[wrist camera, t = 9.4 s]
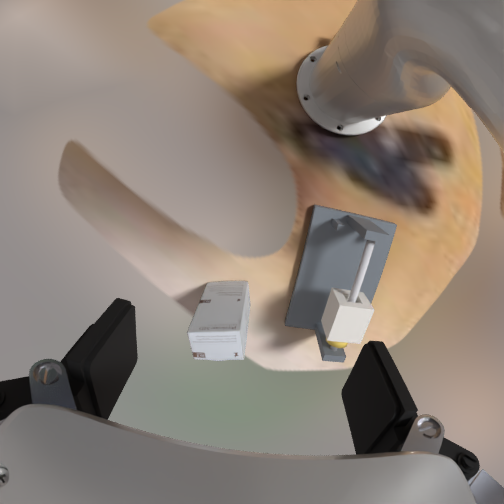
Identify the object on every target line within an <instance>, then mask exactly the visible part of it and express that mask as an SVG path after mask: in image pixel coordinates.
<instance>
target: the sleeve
mask: <svg viewBox="0 0 504 504" xmlns="http://www.w3.org/2000/svg"><path fill="white" fill-rule="evenodd" d="M350 292H351V290H345V289H338V288H332V289H331V292H330V295H329V298H328V301H327V304H326V307H325V310H324V313H323V316H322V319H321V322H322V325H323V329H324V332H325V335H326V339H327V341H336V342H346V343H357V344H360V343H361V341H362V339H363V336H364V334H365V332H366V329H367V327H368V324H369V322H370V320H371V317H372V315H373V312H374V308H373V307H372V305H371V304H370V302H369V300H368V299H367V297H366V296H365V294H364V293H363V292H359V294H358V297H357V299H356V302H355V303H354V302H347V301H348V298H349V295H350Z"/></svg>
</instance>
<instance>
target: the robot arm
mask: <svg viewBox="0 0 504 504" xmlns="http://www.w3.org/2000/svg"><path fill="white" fill-rule="evenodd" d="M310 60H314V62H311V61H310ZM296 86H297V94H298V98H299V100H300V103H301V105H302V107H303V109H304V110H305V111H306V113H307V114H308V116H309V117H310V118H311V119H312V120H313V121H314V122H316V123H317V124H318V125H320V126H321V127H322V128H324V129H326V130H328V131H330V132H333V133H336V134H340V135H348V136H349V135H359V134H364V133H367V132H369V131H372V130H373V129H375V128H376V127H378V126H379V125H380V124H381V123H382V122H383V121H384V119H385V117H386V116H387V115H391V114H395V113H400V112H404V111H409V110H413V109H418V108H423V107H426V106H429V105H431V104H434V103H435V102H437V101H438V100H440V99H441V98H442V97H443V96H444V95H445V94H446V93H447V91H448V90H449V88H450V87H452V88H453V89H454V90H455V91H456V92H457V93H458V94H459V95H460V96H461V98H462V99H463V100H464V101H465V102H466V104H467V105H468V106H469V107H470V108H472V109H473V111H474V112H475V113H476V114H477V116H478V117H479V118H480V120H481V121H482V122H483V124H484V125H485V126H486V128H487V129H488V130H489V132H490V133H491V135H492V136H493V137H494V139H495V140H496V142H497V143H498V145H499V146H500V148H501V149H502V151H503V152H504V0H357V2H356V4H355V6H354V7H353V9H352V11H351V12H350V14H349V15H348V17H347V18H346V20H345V21H344V23H343V25H342V26H341V28H340V29H339V31H338V32H337V34H336V35H335V37H334V38H333V40H332V41H331V43H330V44H329V45H327V46H323V47H321V48H318V49H316V50H315V51H313V52H312V53H310V54H309V55H308V56H307V57H306V59H305V60H304V61H303V63H302V65H301V66H300V69H299V71H298V75H297V80H296ZM304 97H306V98H307V100H304ZM375 118H377V120H376V119H375ZM337 126H339V127H340V130H338V129H337ZM136 362H137V341H136V321H135V306H133V305H131V302H130V301H127V300H124V299H120V298H116V299H115V300H114V302H113V303H112V304H111V305H110V306H109V307H108V308H107V310H106V311H105V312H104V313H103V314H102V315H101V317H100V318H99V319H98V320H97V321H96V322H95V324H92V325H91V326H89V328H88V329H87V330H86V331H85V332H84V334H83V335H82V336H81V337H80V338H79V340H78V341H77V342H76V343H75V344H74V346H73V347H72V348H71V349H70V351H69V352H68V353H67V354H66V355H65V357H64V358H63V359H62V360H61V362H59V361H57V360H54V359H43V360H40V361H38V362H36V363H35V364H34V365H33V366H32V367H31V369H30V371H29V376H28V377H23V378H18V379H12V380H6V381H1V382H0V504H504V488H503V487H502V486H501V485H500V484H499V483H498V482H497V481H495V480H494V479H493V478H492V477H491V476H490V475H489V474H488V473H487V472H485V471H484V470H483V469H482V470H481V471H479V466H480V465H479V461H478V459H477V457H476V456H475V455H474V454H473V453H472V452H470V451H468V450H466V449H464V448H462V447H461V446H459V445H457V444H455V443H453V442H451V441H450V440H448V439H446V438H444V426H443V425H442V423H441V422H440V421H439V420H438V419H437V418H435V417H434V416H431V415H427V414H424V415H420V416H418V415H417V413H416V412H417V411H418V409H417V407H416V405H415V403H414V401H413V399H412V397H411V395H410V393H409V391H408V389H407V387H406V385H405V383H404V381H403V379H402V377H401V375H400V373H399V371H398V369H397V367H396V365H395V363H394V361H393V359H392V357H391V355H390V354H389V352H388V350H387V348H386V346H385V344H384V343H383V342H380V341H369V342H368V343H367V344H365V345H364V346H363V348H362V350H361V352H360V354H359V357H358V359H357V361H356V363H355V365H354V367H353V369H352V371H351V373H350V375H349V377H348V379H347V381H346V383H345V385H344V387H343V389H342V399H343V403H344V406H345V411H346V415H347V418H348V422H349V427H350V431H351V435H352V439H353V443H354V447H355V451H356V455H333V456H308V455H307V456H306V455H282V454H269V453H256V452H247V451H239V450H232V449H225V448H219V447H212V446H207V445H201V444H196V443H191V442H186V441H182V440H176V439H173V438H169V437H164V436H160V435H156V434H153V433H149V432H146V431H142V430H139V429H135V428H132V427H128V426H125V425H121V424H118V423H115V422H112V421H109V420H108V418H109V416H110V414H111V412H112V410H113V407H114V406H115V404H116V402H117V400H118V398H119V396H120V394H121V392H122V390H123V388H124V386H125V384H126V382H127V380H128V378H129V376H130V375H131V373H132V371H133V369H134V367H135V365H136Z"/></svg>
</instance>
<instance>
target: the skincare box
mask: <svg viewBox="0 0 504 504" xmlns="http://www.w3.org/2000/svg"><path fill="white" fill-rule="evenodd" d="M249 313H250V295H249V285H248V282H247V281H221V282H210V283H207V285H206V287H205V290H204V292H203V295H202V297H201V299H200V302H199V304H198V307H197V309H196V312H195V314H194V316H193V319H192V321H191V324H190V327H189V329H188V331H187V333H188V338H189V341H190V345H191V349H192V353H193V357H194V359H206V360H215V361H223V360H243V359H244V357H245V347H246V340H247V331H248V322H249Z"/></svg>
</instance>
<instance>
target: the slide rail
mask: <svg viewBox="0 0 504 504" xmlns="http://www.w3.org/2000/svg"><path fill="white" fill-rule="evenodd" d="M396 226H397V225H396V224H395V223H391V222H387V221H383V220H379V219H375V218H371V217H367V216H363V215H359V214H355V213H350V212H346V211H341V210H337V209H333V208H328V207H323V206H319V205H314V208H313V212H312V217H311V221H310V225H309V230H308V234H307V238H306V242H305V246H304V251H303V255H302V259H301V263H300V267H299V271H298V275H297V278H296V282H295V286H294V290H293V294H292V297H291V301H290V305H289V309H288V312H287V316H286V320H285V326H290V327H297V328H305V329H312V330H315V333H316V336H317V340H318V344H319V348H320V352H321V356H322V361H333V362H344V360H345V358H346V355H345V352H344V349H343V348H344V347H346V346H347V344H348V343H346V342H336V341H327V339H326V335H325V332H324V329H323V325H322V322H321V319H322V316H323V313H324V310H325V307H326V304H327V301H328V298H329V295H330V292H331V289H332V288H338V289H345V290H351V292H350V295H349V298H348V301H347V302H354V303H355V302H356V299H357V297H358V294H359V292H363V293H364V294H365V296H366V297H367V299H368V300H369V302H370V304H371V302H372V300H373V297H374V294H375V292H376V289H377V286H378V283H379V280H380V278H381V275H382V272H383V269H384V266H385V263H386V260H387V256H388V253H389V250H390V247H391V244H392V240H393V237H394V233H395V230H396Z"/></svg>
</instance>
